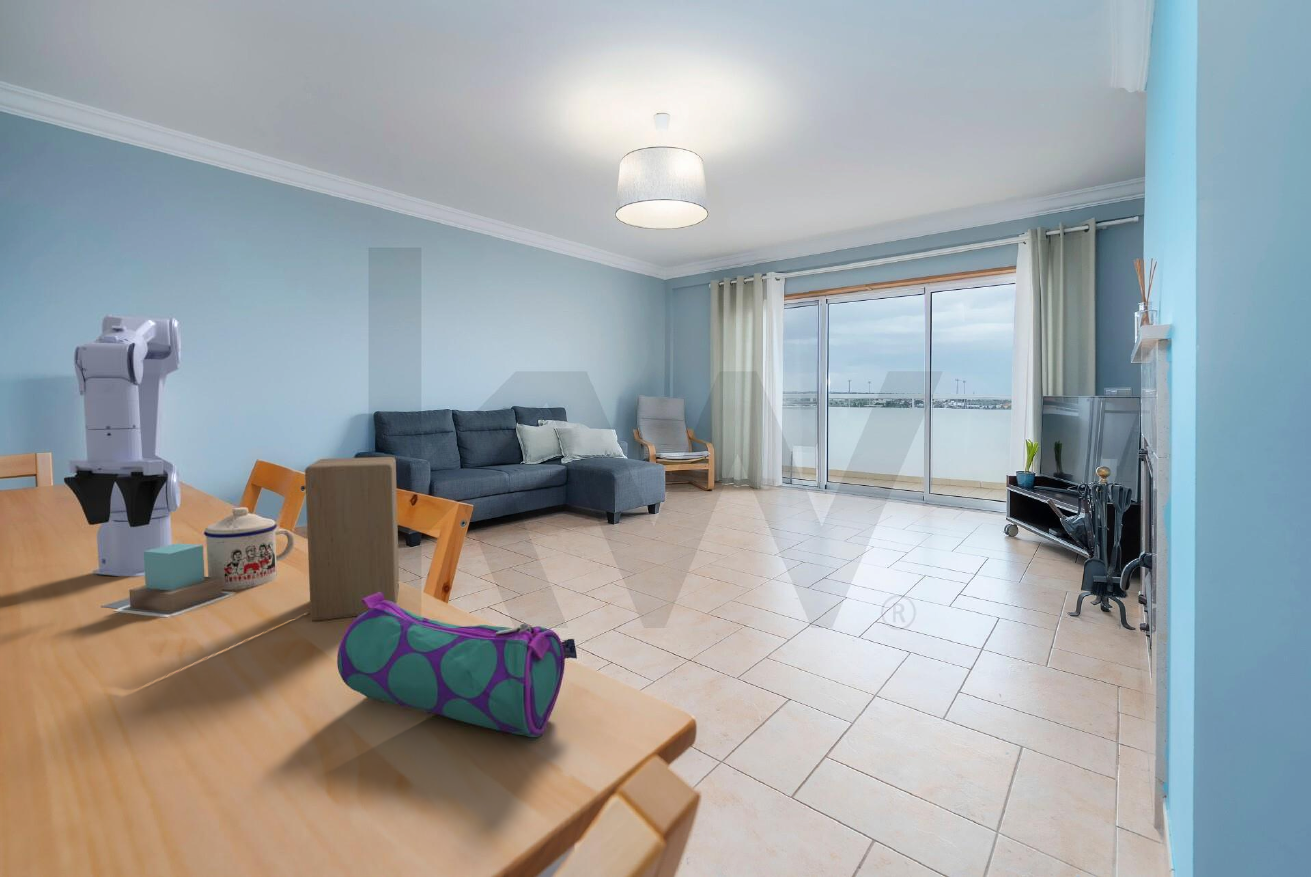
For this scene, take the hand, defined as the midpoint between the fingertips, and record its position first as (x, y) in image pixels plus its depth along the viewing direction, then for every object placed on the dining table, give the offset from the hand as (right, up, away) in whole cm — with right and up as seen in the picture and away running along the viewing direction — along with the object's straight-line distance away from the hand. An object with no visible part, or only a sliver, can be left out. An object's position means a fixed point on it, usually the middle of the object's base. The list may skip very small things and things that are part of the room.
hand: (119, 524), depth 84 cm
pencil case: (+57, -13, -29) cm, 66 cm away
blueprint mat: (+8, -11, -2) cm, 14 cm away
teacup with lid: (+14, -10, +8) cm, 19 cm away
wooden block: (+35, -11, -2) cm, 37 cm away
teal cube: (+10, -8, -3) cm, 13 cm away
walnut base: (+10, -10, -2) cm, 15 cm away
